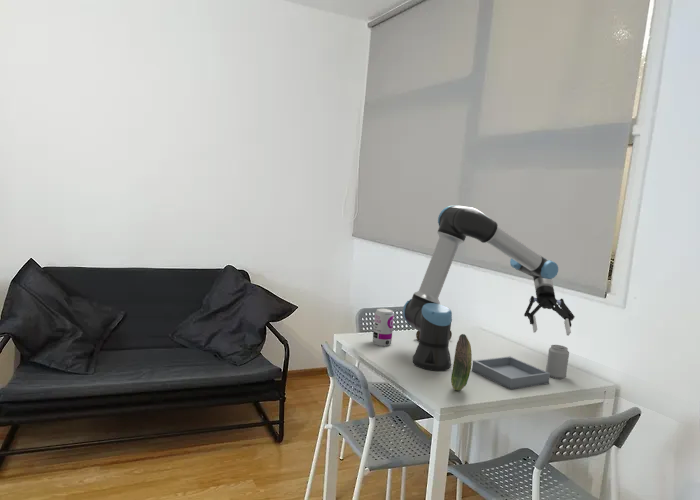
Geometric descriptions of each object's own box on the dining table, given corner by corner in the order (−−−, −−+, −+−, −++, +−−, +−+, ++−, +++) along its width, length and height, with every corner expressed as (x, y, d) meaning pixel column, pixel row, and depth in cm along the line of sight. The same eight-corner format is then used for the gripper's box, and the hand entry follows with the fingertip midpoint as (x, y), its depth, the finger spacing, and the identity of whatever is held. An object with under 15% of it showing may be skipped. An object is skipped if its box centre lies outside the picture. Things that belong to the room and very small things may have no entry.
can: (563, 381, 199) (568, 350, 197) (543, 376, 203) (547, 346, 201) (567, 376, 205) (571, 346, 204) (547, 371, 209) (551, 342, 208)
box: (510, 389, 185) (511, 378, 184) (471, 370, 202) (472, 360, 202) (548, 383, 195) (550, 373, 194) (509, 365, 212) (510, 356, 212)
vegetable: (457, 385, 184) (463, 330, 182) (472, 391, 180) (478, 335, 177) (447, 388, 180) (453, 332, 178) (461, 395, 176) (468, 337, 173)
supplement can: (394, 343, 229) (397, 310, 227) (385, 347, 222) (388, 313, 221) (378, 339, 233) (381, 307, 232) (369, 343, 226) (372, 309, 225)
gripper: (570, 296, 228) (579, 339, 215) (513, 291, 229) (518, 334, 216) (576, 287, 222) (586, 330, 209) (518, 282, 223) (524, 325, 210)
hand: (552, 332), depth 212 cm, fingers open, 13 cm apart
